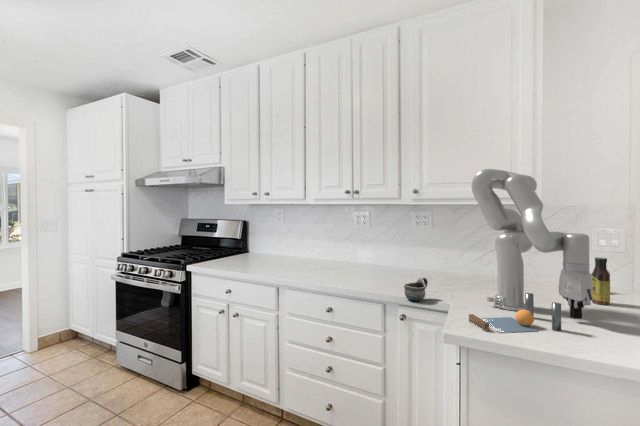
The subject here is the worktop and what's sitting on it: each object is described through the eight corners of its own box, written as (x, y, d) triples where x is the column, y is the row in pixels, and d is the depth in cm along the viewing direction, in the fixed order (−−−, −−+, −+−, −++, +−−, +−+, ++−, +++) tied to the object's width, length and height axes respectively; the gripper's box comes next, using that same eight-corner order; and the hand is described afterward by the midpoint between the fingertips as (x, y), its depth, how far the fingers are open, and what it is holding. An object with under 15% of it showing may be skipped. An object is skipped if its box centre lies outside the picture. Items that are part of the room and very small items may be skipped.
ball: (540, 324, 113) (527, 331, 112) (527, 317, 118) (514, 324, 117) (535, 310, 112) (521, 317, 111) (522, 304, 117) (509, 311, 116)
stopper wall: (484, 331, 110) (484, 323, 110) (468, 321, 120) (468, 314, 120) (488, 331, 110) (488, 323, 110) (472, 320, 120) (472, 314, 120)
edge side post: (556, 331, 109) (556, 304, 109) (549, 328, 111) (549, 302, 111) (563, 331, 109) (563, 304, 109) (557, 328, 112) (557, 302, 112)
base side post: (528, 318, 122) (528, 294, 121) (523, 316, 124) (523, 293, 124) (535, 318, 122) (535, 294, 122) (530, 316, 124) (530, 292, 124)
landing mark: (499, 333, 108) (499, 332, 108) (475, 318, 122) (475, 318, 122) (538, 331, 109) (538, 330, 109) (510, 317, 123) (510, 317, 123)
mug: (399, 300, 148) (399, 278, 148) (414, 295, 157) (414, 274, 156) (418, 304, 141) (418, 281, 141) (433, 299, 149) (433, 277, 149)
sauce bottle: (591, 300, 145) (591, 256, 144) (609, 303, 141) (609, 257, 140) (591, 303, 139) (591, 257, 139) (610, 306, 135) (610, 259, 135)
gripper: (549, 264, 125) (550, 311, 125) (584, 271, 110) (584, 325, 110) (568, 263, 125) (568, 311, 125) (605, 271, 110) (605, 324, 110)
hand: (575, 317), depth 118 cm, fingers closed
